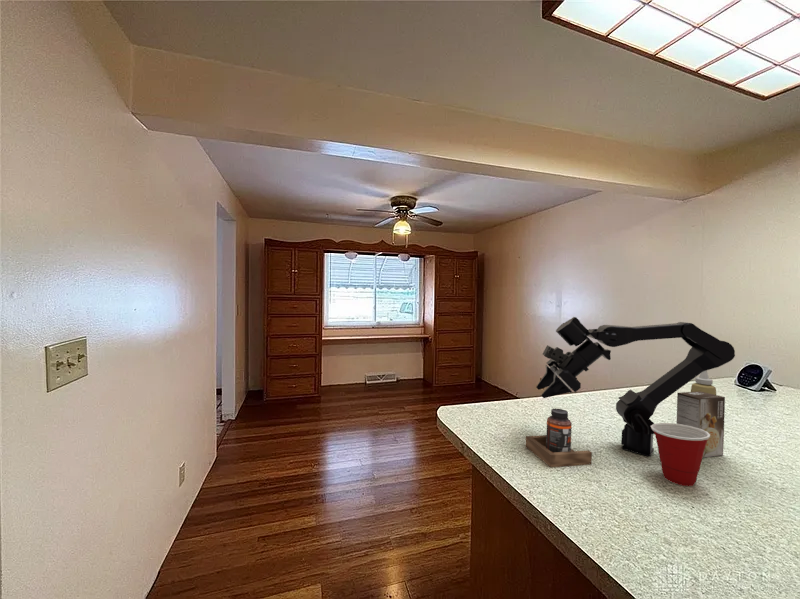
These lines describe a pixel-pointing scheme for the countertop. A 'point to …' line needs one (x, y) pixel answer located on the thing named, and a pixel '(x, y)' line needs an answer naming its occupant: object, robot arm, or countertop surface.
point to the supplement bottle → (558, 431)
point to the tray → (556, 453)
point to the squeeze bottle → (703, 384)
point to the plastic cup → (680, 451)
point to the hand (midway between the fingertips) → (539, 392)
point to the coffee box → (703, 417)
